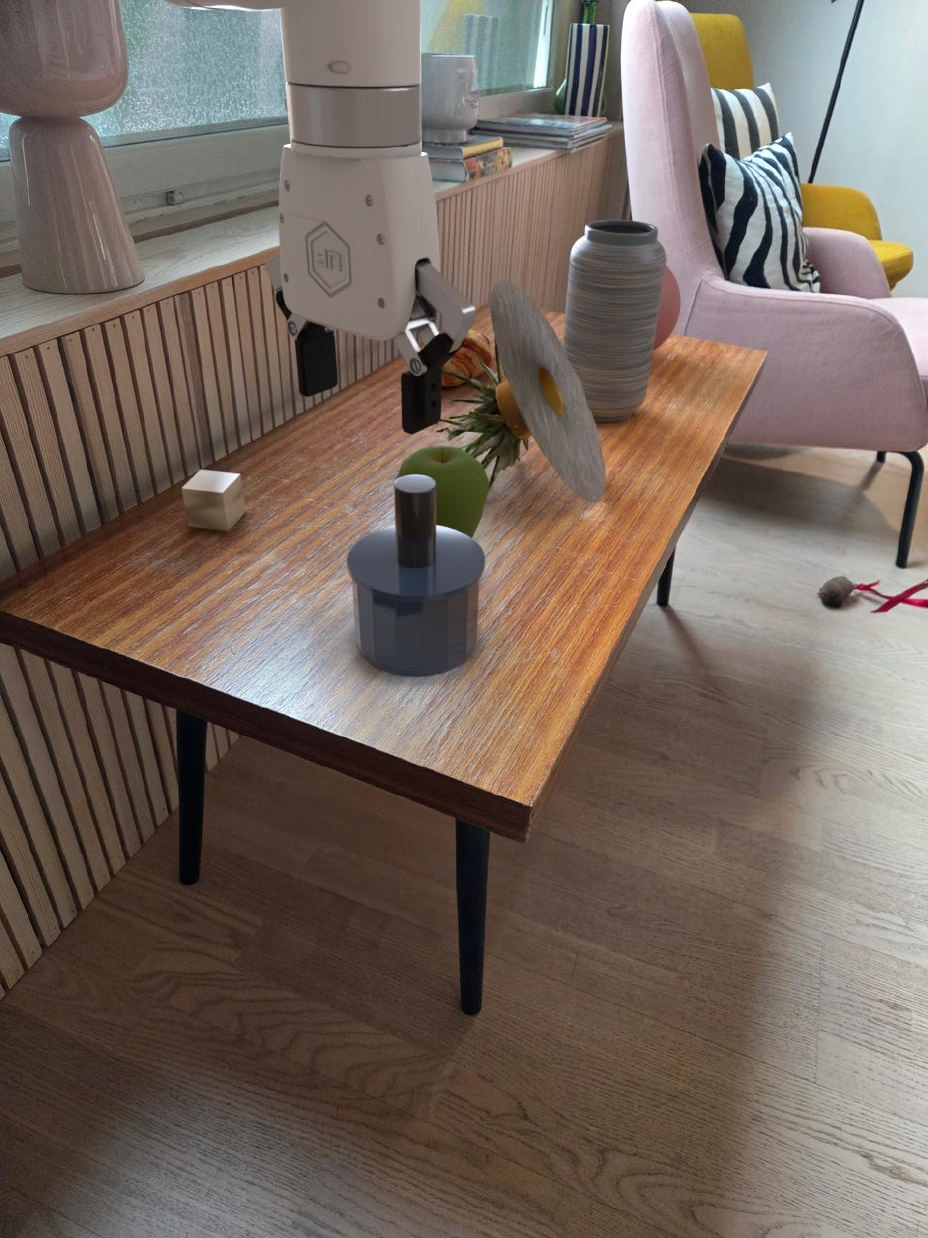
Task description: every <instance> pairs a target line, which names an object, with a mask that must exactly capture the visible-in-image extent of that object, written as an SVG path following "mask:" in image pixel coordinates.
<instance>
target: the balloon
mask: <svg viewBox="0 0 928 1238" xmlns="http://www.w3.org/2000/svg"><path fill="white" fill-rule="evenodd" d="M680 291H681V290H680V287H679V284H678V281H677V278H676V277H675V274H674V273H673V272H672V270H671V269H670V267H669V266H668V265H666V268H665V275H664V281H663V288H662V295H661V301H660V308H659V315H658V321H657V328H656V335H655V341H654V348H653V352H654V351H656V350H657V349H659V348H660V347H661V346H662V345H663V344H664V343H665V342H666V341H667V340H668V339H669V338H670V336H671V334H672V333H673V331H674V330H675V327H676V325H677V323H678V320H679V316H680V313H681V302H682V301H681V292H680Z"/></svg>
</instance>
